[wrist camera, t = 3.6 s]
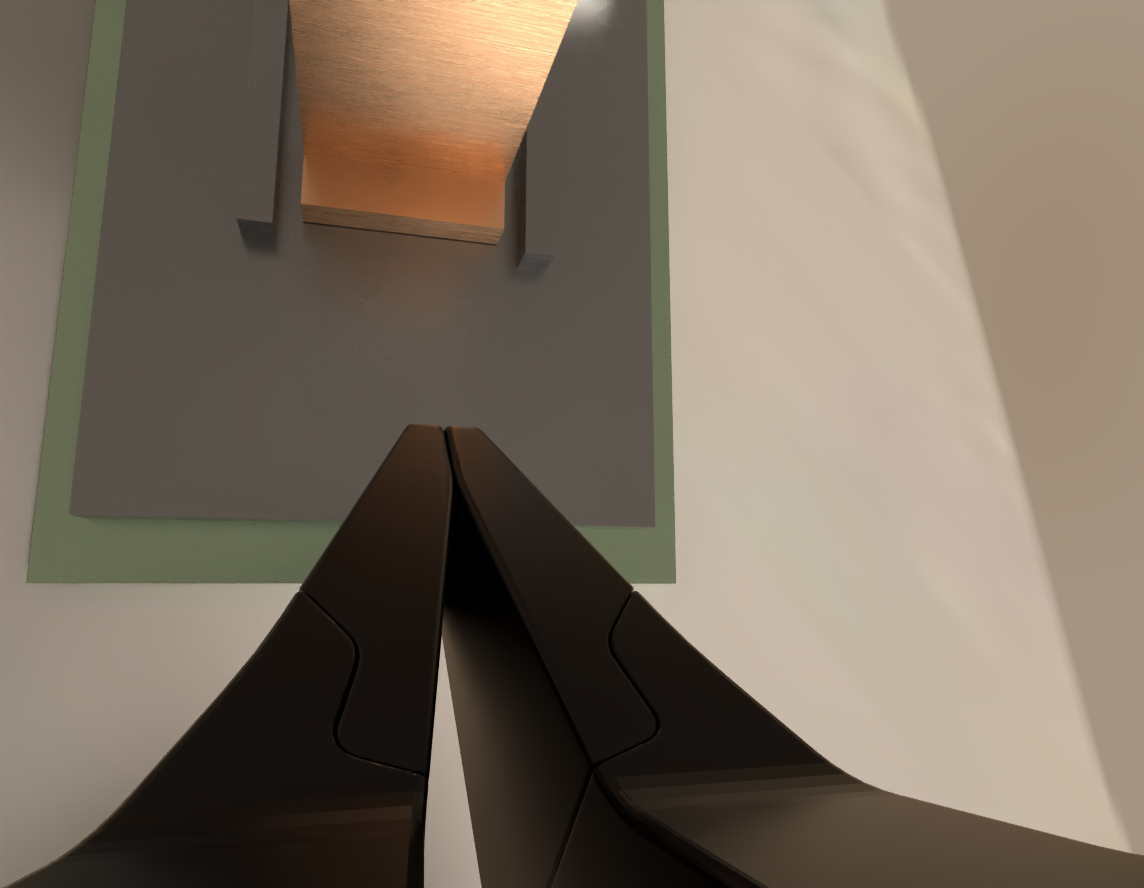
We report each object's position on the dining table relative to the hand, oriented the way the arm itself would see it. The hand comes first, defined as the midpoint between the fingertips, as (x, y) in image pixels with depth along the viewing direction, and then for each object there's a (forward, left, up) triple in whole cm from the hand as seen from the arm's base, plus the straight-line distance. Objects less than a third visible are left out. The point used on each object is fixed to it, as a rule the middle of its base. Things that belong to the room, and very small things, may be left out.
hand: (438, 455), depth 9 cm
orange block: (+6, +10, -11) cm, 16 cm away
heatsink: (+6, +9, -12) cm, 16 cm away
